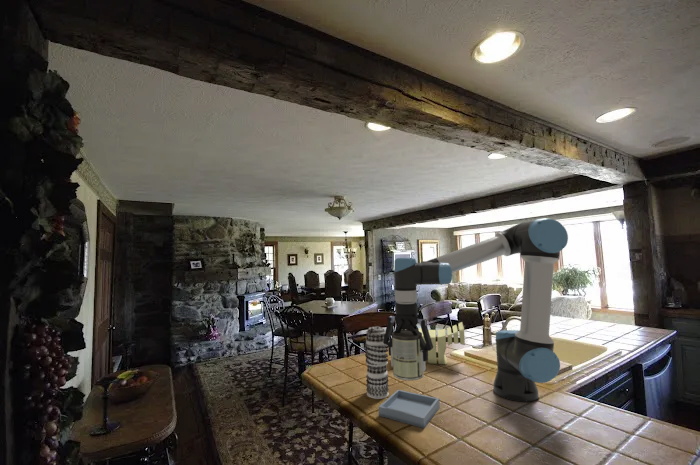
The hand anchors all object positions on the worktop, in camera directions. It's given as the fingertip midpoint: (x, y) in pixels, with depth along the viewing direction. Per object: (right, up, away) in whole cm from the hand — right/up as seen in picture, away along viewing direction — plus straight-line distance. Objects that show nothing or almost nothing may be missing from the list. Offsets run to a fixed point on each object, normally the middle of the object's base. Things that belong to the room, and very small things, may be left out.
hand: (408, 367), depth 111 cm
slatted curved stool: (+21, -18, +51) cm, 58 cm away
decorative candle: (-9, -16, +13) cm, 23 cm away
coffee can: (0, -2, 0) cm, 2 cm away
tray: (0, -14, -1) cm, 15 cm away
